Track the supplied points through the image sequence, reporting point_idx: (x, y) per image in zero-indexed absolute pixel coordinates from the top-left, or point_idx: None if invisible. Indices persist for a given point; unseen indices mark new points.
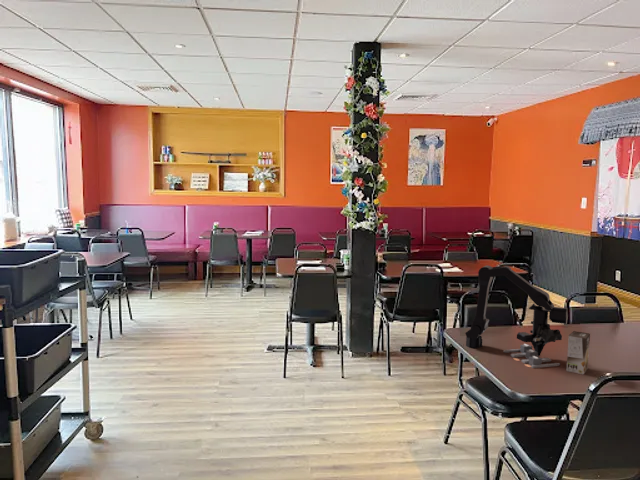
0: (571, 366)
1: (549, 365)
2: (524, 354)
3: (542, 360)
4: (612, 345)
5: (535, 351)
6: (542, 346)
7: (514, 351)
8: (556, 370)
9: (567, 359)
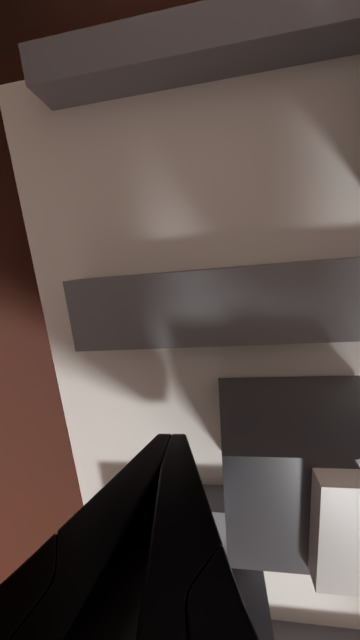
0: None
1: (251, 8)
2: None
3: (223, 269)
4: None
5: (256, 497)
6: (33, 620)
7: (336, 636)
8: None
9: None
